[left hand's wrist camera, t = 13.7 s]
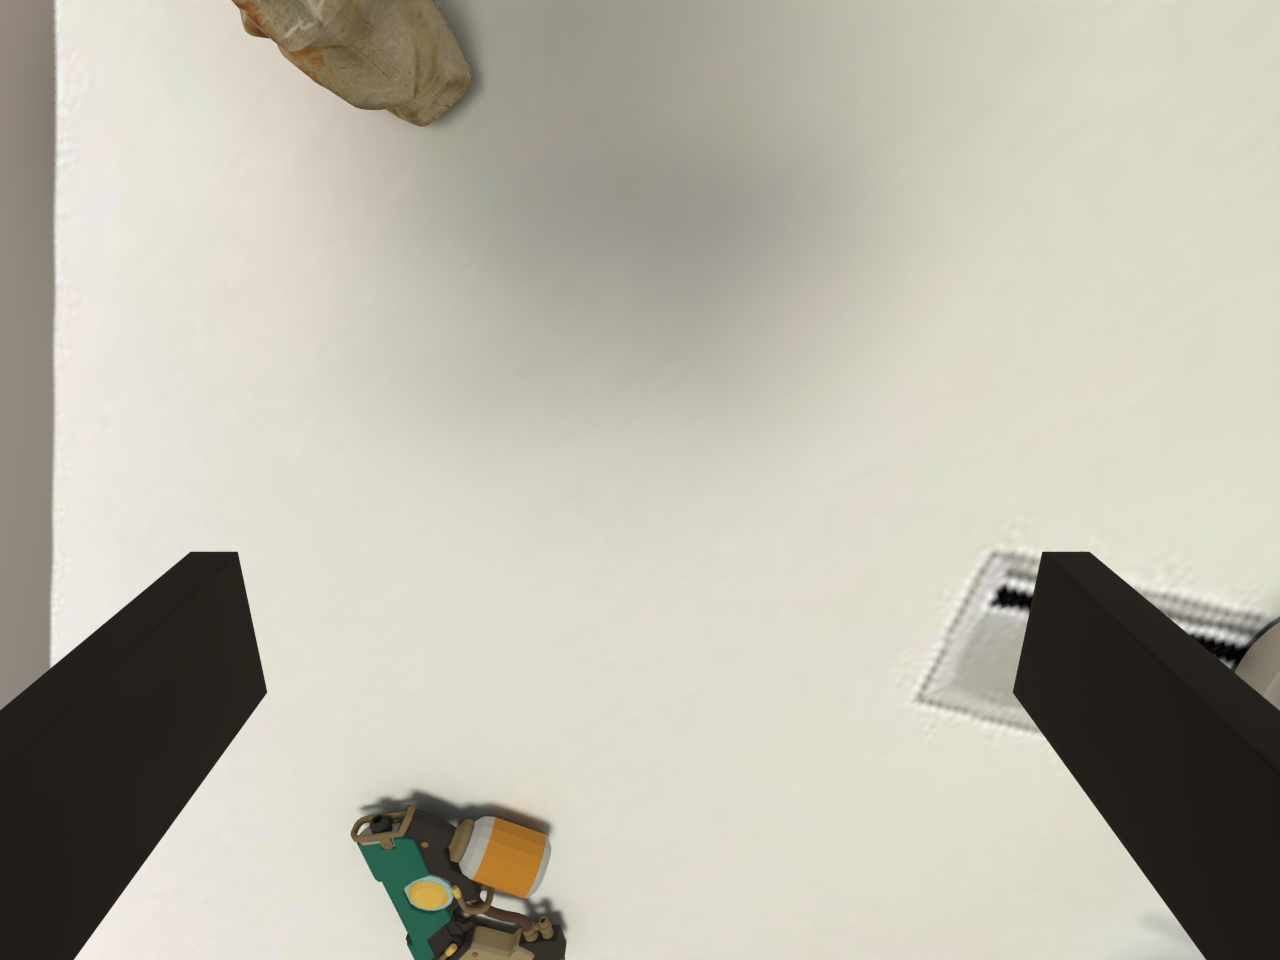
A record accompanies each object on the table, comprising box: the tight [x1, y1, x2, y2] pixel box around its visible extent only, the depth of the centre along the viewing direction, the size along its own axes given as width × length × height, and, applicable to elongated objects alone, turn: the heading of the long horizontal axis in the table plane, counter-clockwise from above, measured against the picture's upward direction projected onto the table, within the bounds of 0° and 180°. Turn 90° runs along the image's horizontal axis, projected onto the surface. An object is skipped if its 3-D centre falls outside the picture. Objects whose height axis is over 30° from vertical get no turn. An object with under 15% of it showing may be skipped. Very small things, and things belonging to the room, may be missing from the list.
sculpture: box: [232, 0, 473, 126], centre depth 31 cm, size 6×7×15 cm
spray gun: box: [351, 806, 566, 960], centre depth 56 cm, size 4×17×15 cm
